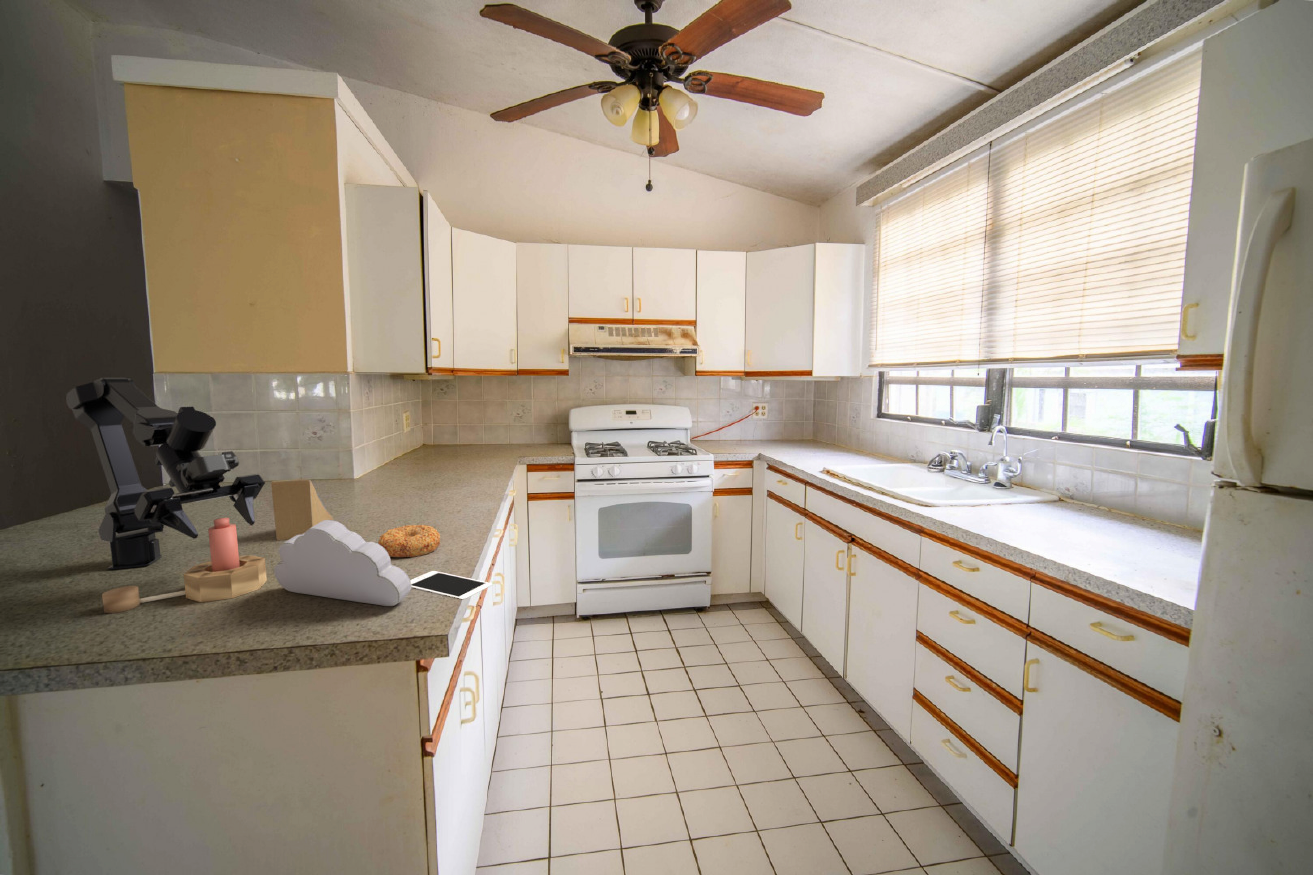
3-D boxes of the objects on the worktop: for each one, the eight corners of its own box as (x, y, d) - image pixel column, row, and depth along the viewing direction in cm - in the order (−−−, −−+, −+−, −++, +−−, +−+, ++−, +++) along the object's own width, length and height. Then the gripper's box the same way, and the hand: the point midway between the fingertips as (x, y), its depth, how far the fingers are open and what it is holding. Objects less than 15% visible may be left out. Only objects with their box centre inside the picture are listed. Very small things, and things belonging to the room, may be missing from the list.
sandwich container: (337, 522, 146) (333, 468, 144) (314, 538, 131) (310, 479, 129) (302, 523, 144) (297, 469, 142) (275, 540, 129) (270, 480, 127)
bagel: (400, 540, 129) (399, 521, 129) (452, 543, 127) (451, 523, 127) (364, 558, 117) (363, 536, 116) (421, 561, 115) (420, 539, 114)
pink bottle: (208, 593, 97) (201, 522, 96) (225, 584, 101) (219, 516, 100) (230, 593, 98) (223, 522, 96) (246, 584, 101) (240, 516, 100)
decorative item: (260, 599, 95) (252, 518, 93) (308, 579, 104) (303, 505, 103) (386, 619, 87) (381, 531, 86) (427, 596, 97) (423, 516, 95)
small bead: (98, 614, 88) (95, 597, 88) (112, 604, 92) (110, 588, 92) (132, 610, 90) (130, 593, 90) (145, 600, 94) (143, 584, 94)
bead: (177, 605, 92) (175, 580, 92) (203, 582, 102) (201, 560, 102) (254, 595, 96) (252, 571, 96) (271, 574, 107) (269, 553, 106)
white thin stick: (117, 608, 91) (116, 603, 91) (118, 606, 92) (117, 602, 92) (208, 590, 98) (207, 586, 98) (208, 589, 99) (207, 585, 99)
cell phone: (433, 573, 109) (432, 570, 108) (493, 586, 102) (493, 583, 102) (400, 586, 101) (400, 583, 101) (463, 602, 95) (463, 598, 95)
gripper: (135, 445, 89) (178, 515, 86) (255, 434, 106) (294, 492, 103) (116, 486, 93) (157, 555, 90) (235, 469, 110) (272, 527, 107)
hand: (225, 530), depth 98 cm, fingers open, 9 cm apart
